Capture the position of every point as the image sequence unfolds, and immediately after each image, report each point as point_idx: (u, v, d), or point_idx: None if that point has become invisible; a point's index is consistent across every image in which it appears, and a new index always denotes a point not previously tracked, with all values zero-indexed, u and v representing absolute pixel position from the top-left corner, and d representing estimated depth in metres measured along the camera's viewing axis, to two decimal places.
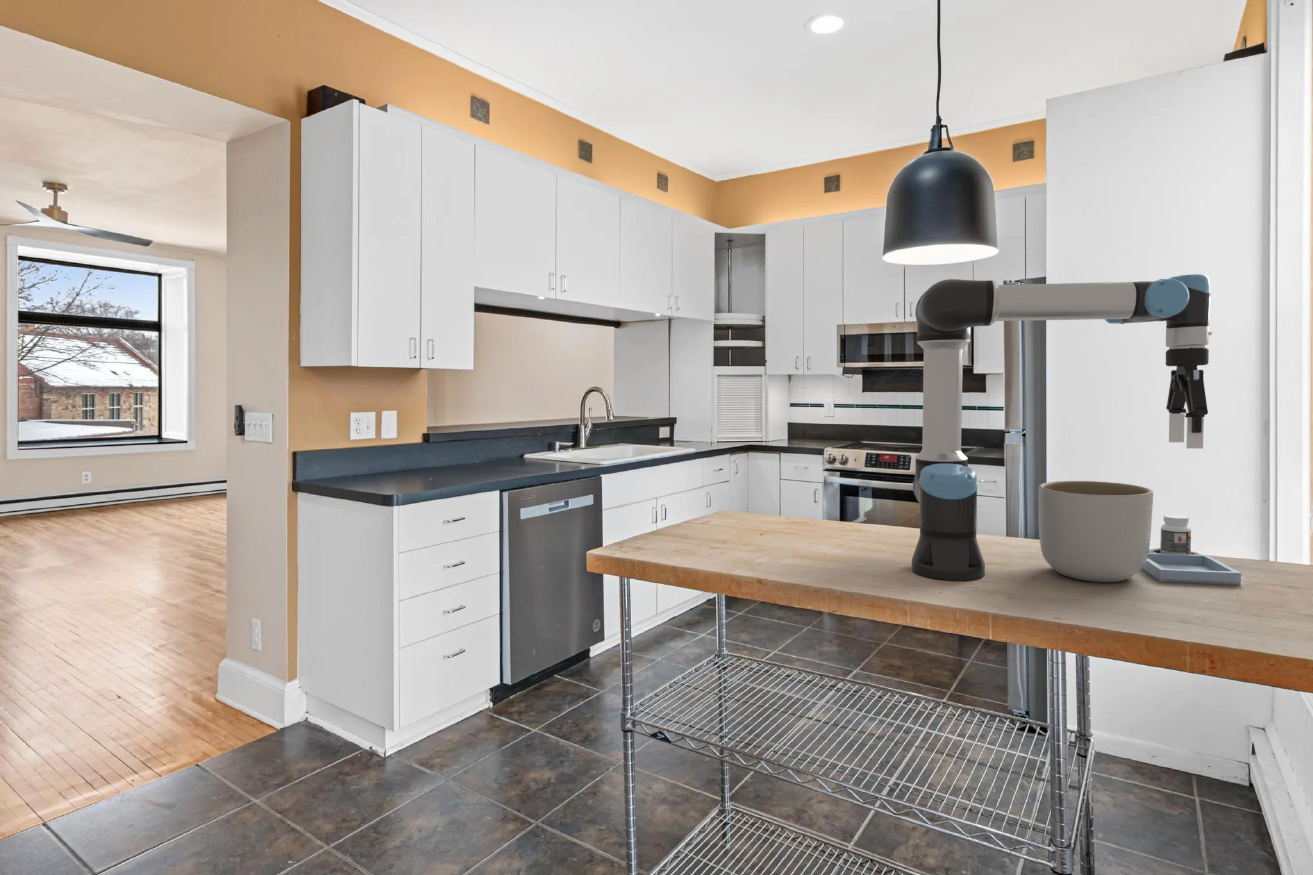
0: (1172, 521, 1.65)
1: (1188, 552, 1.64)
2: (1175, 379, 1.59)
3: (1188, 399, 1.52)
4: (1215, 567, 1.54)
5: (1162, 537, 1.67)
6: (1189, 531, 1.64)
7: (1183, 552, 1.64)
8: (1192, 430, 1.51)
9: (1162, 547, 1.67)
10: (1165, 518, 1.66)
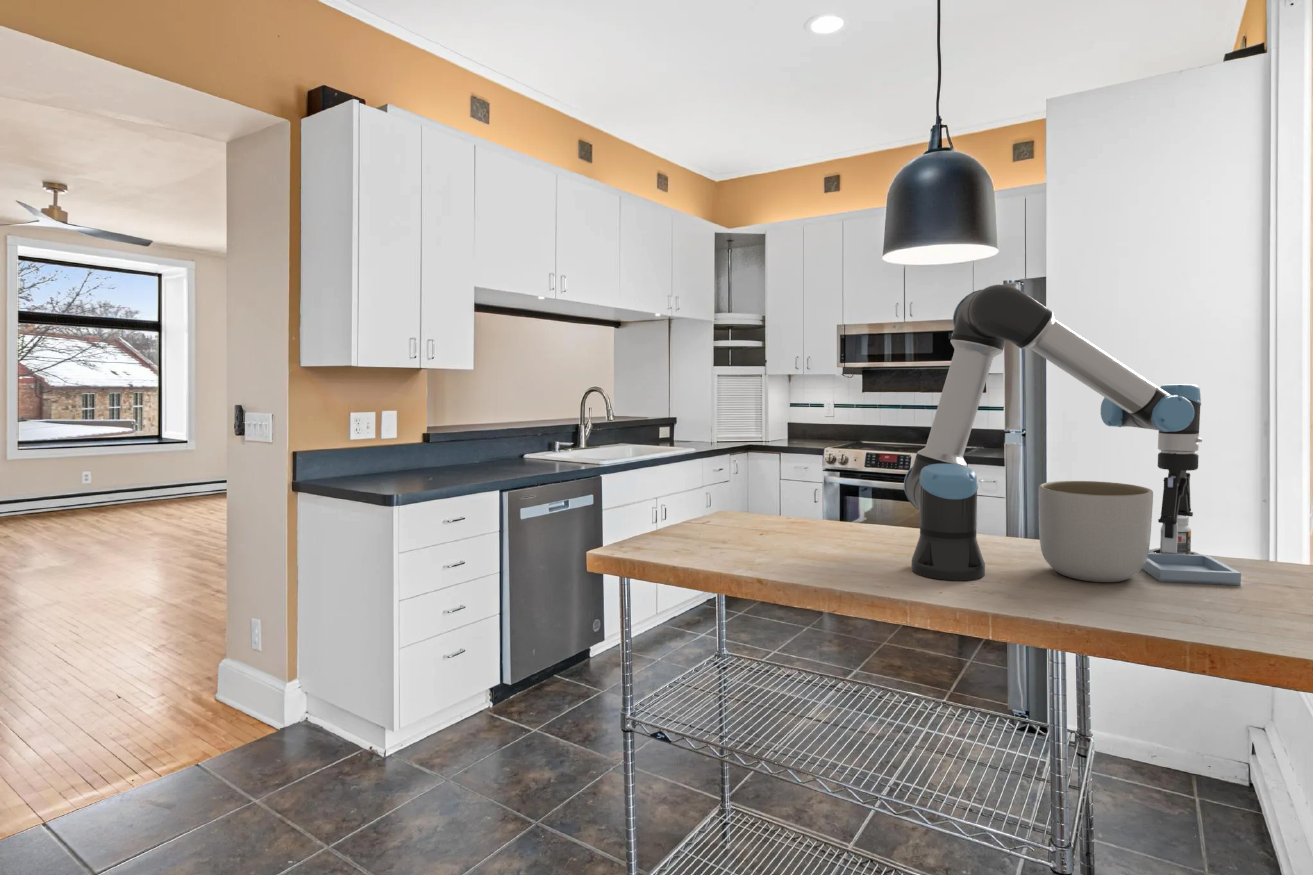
0: None
1: (1188, 552, 1.64)
2: None
3: None
4: (1215, 567, 1.54)
5: None
6: (1189, 531, 1.64)
7: (1183, 552, 1.64)
8: (1165, 535, 1.62)
9: None
10: None
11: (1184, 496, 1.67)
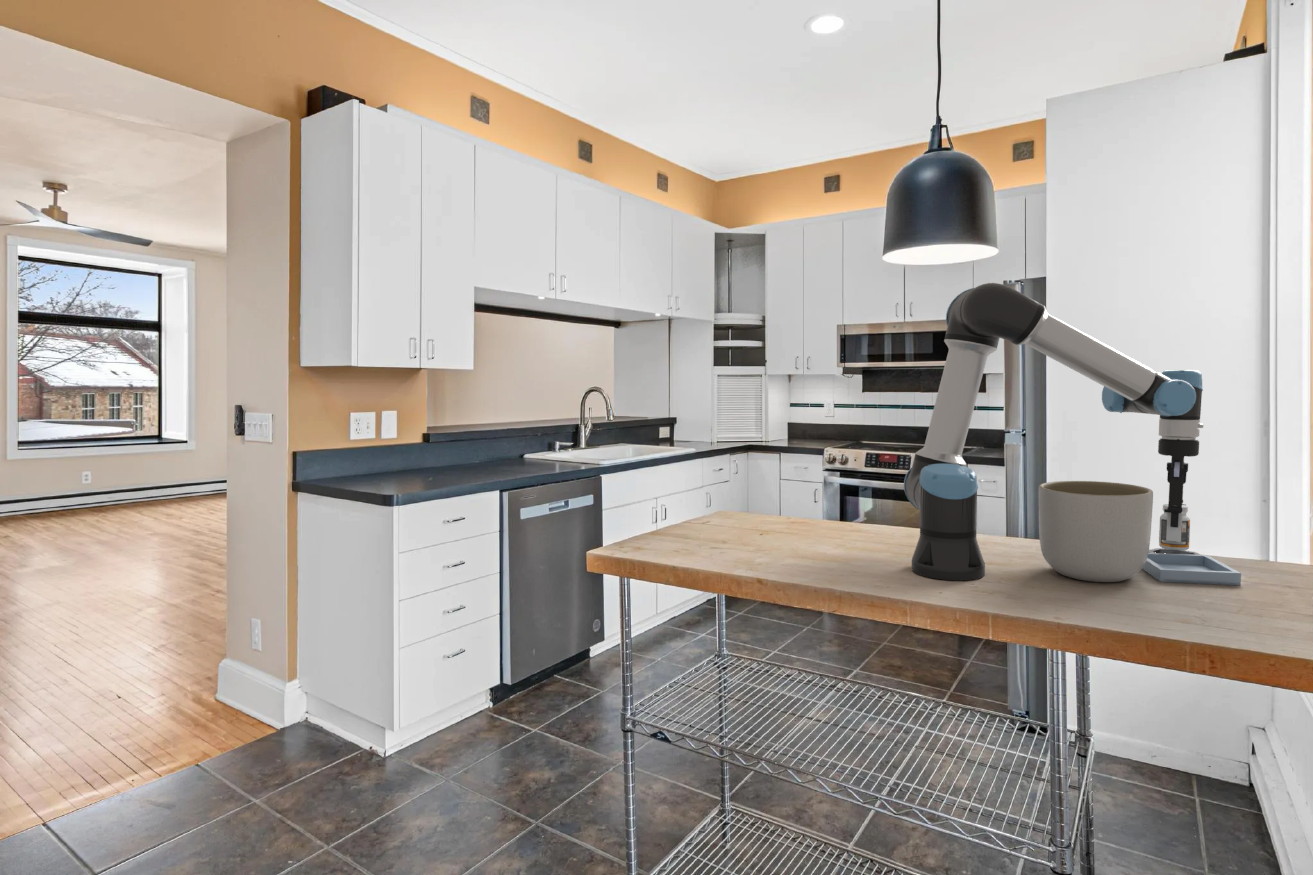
0: None
1: (1188, 541, 1.64)
2: None
3: None
4: (1215, 567, 1.54)
5: (1162, 526, 1.66)
6: (1189, 520, 1.64)
7: (1183, 541, 1.63)
8: (1170, 524, 1.63)
9: (1162, 536, 1.66)
10: (1165, 507, 1.66)
11: None
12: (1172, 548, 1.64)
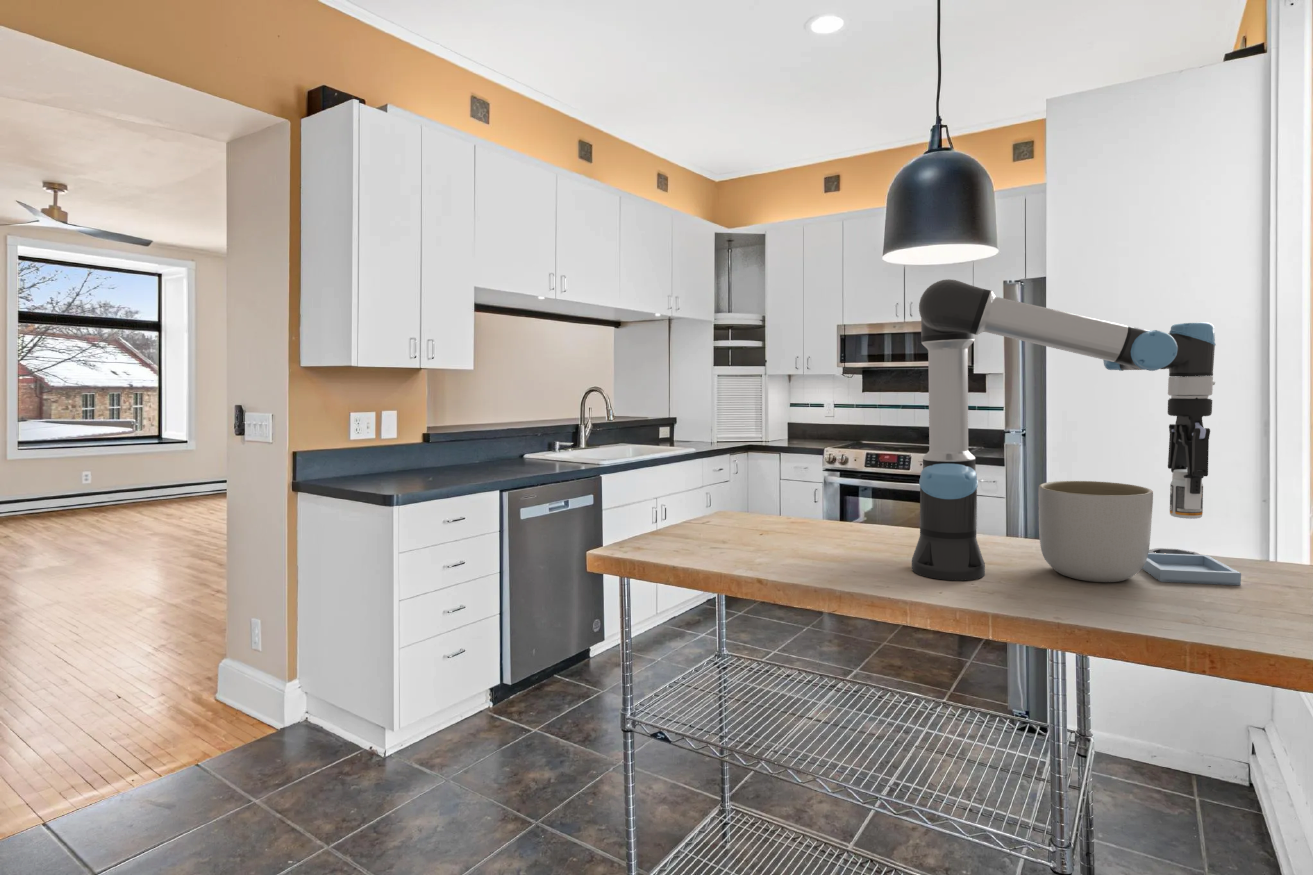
0: None
1: (1202, 508, 1.52)
2: (1177, 428, 1.54)
3: (1189, 457, 1.50)
4: (1215, 567, 1.54)
5: (1177, 494, 1.52)
6: (1202, 485, 1.52)
7: None
8: (1191, 491, 1.50)
9: (1177, 505, 1.53)
10: (1180, 473, 1.52)
11: None
12: (1190, 517, 1.51)
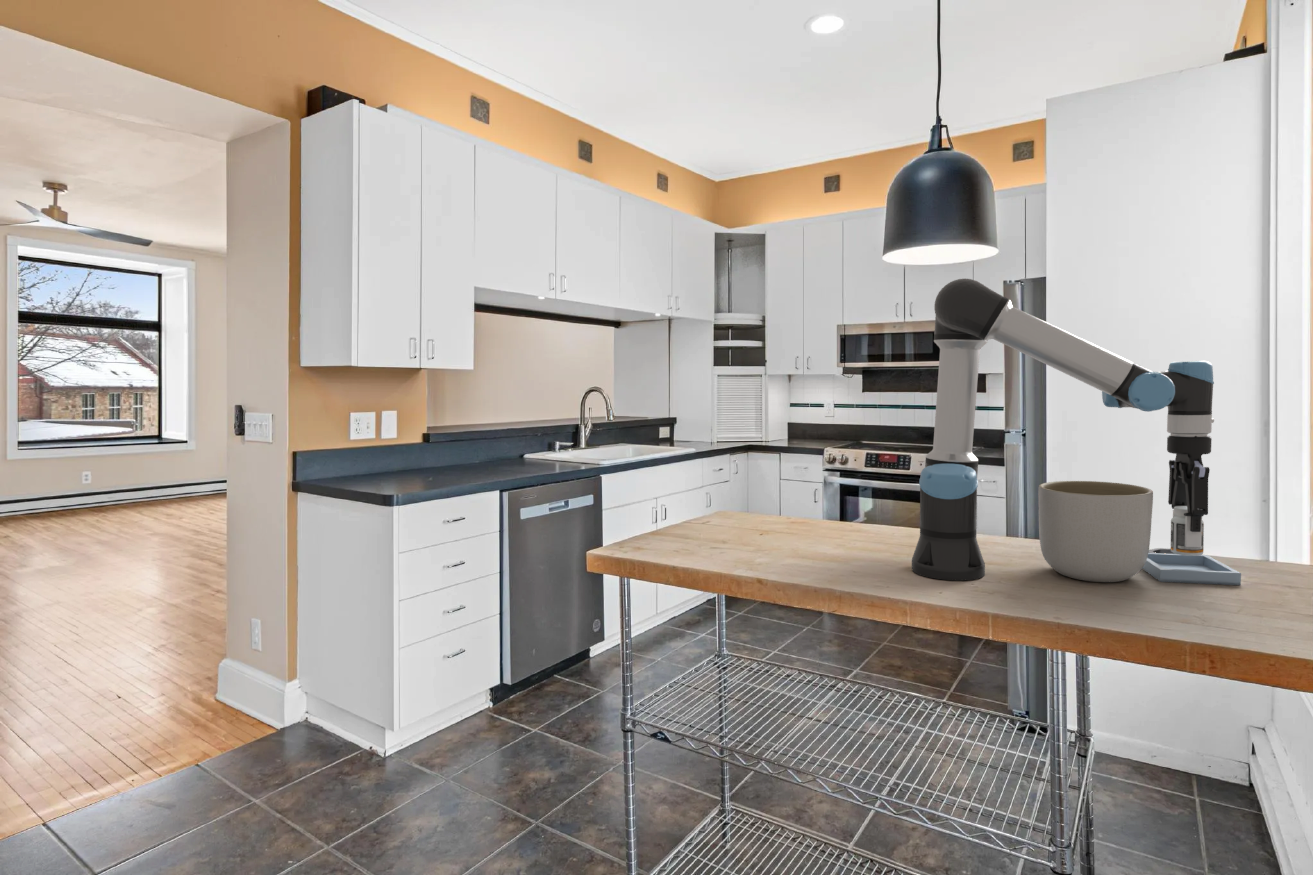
0: None
1: None
2: (1177, 465, 1.54)
3: (1189, 495, 1.50)
4: (1215, 567, 1.54)
5: (1177, 531, 1.53)
6: None
7: (1201, 546, 1.51)
8: (1191, 529, 1.50)
9: (1178, 542, 1.53)
10: (1180, 510, 1.52)
11: None
12: (1191, 554, 1.51)
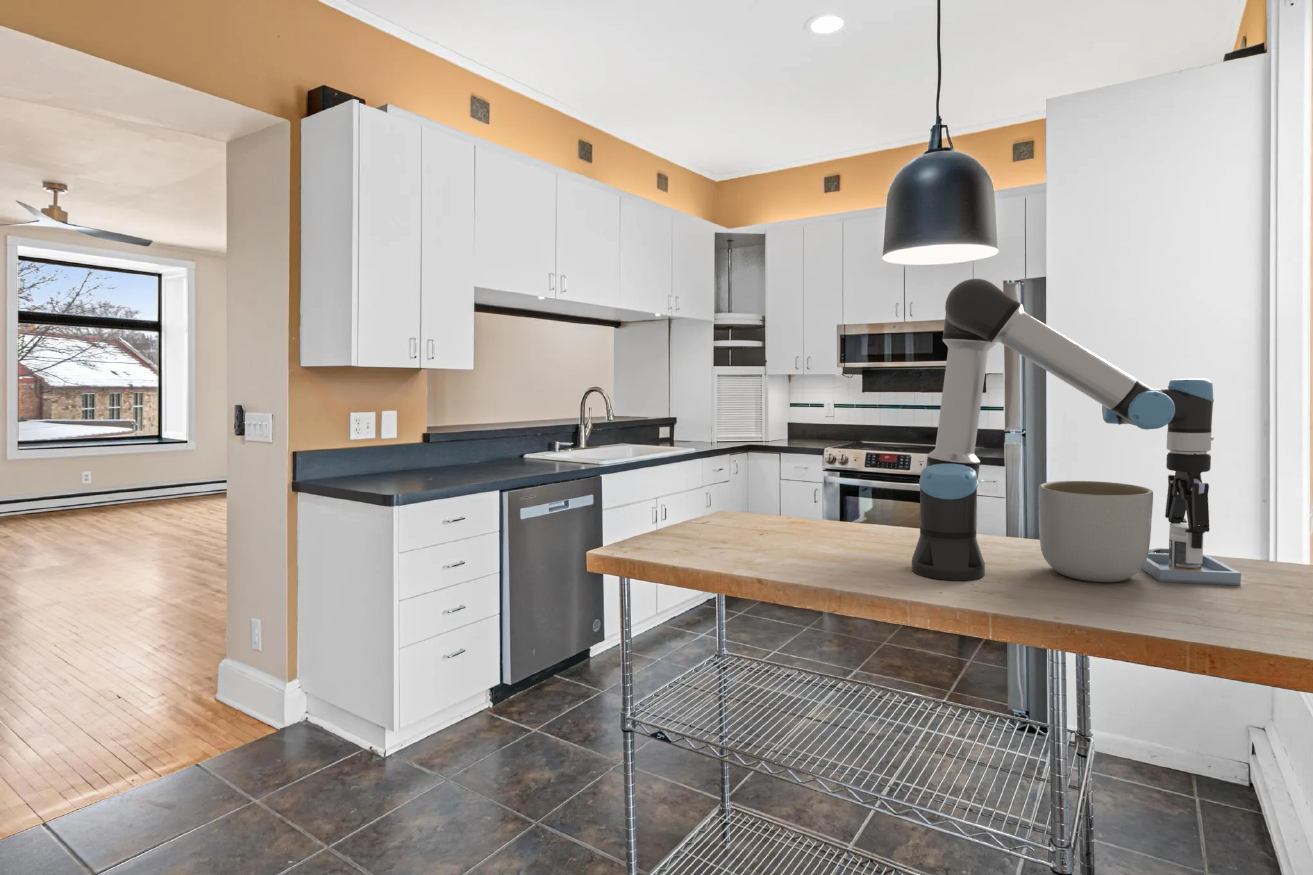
0: None
1: None
2: (1176, 482, 1.54)
3: (1189, 512, 1.49)
4: (1215, 567, 1.54)
5: (1176, 549, 1.53)
6: None
7: (1199, 564, 1.52)
8: (1192, 545, 1.49)
9: (1176, 560, 1.53)
10: (1178, 528, 1.53)
11: None
12: None
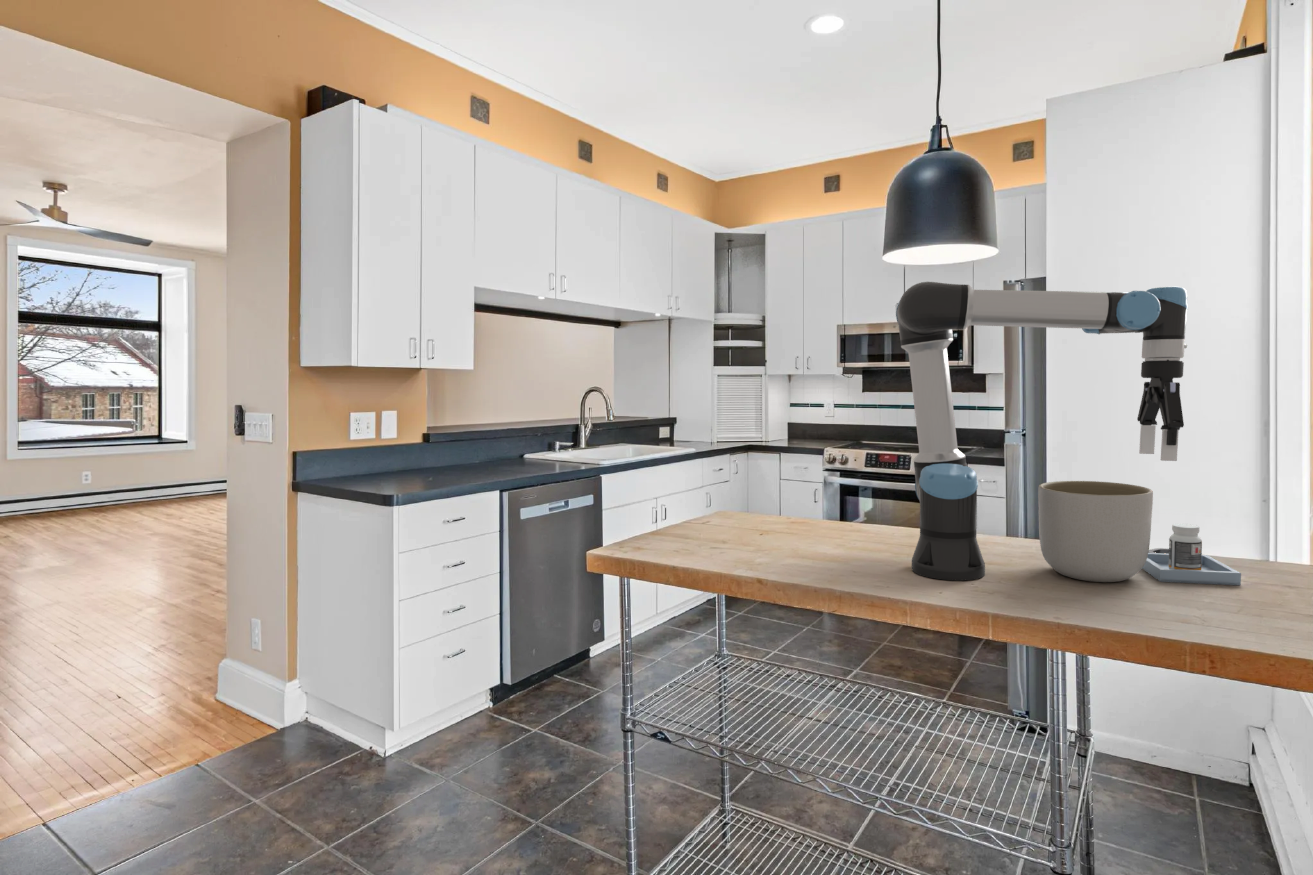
0: (1188, 531, 1.52)
1: None
2: (1149, 391, 1.59)
3: (1164, 411, 1.53)
4: (1215, 567, 1.54)
5: (1176, 549, 1.53)
6: (1201, 540, 1.53)
7: (1199, 564, 1.52)
8: (1167, 442, 1.51)
9: (1176, 560, 1.53)
10: (1178, 528, 1.53)
11: (1158, 406, 1.61)
12: None
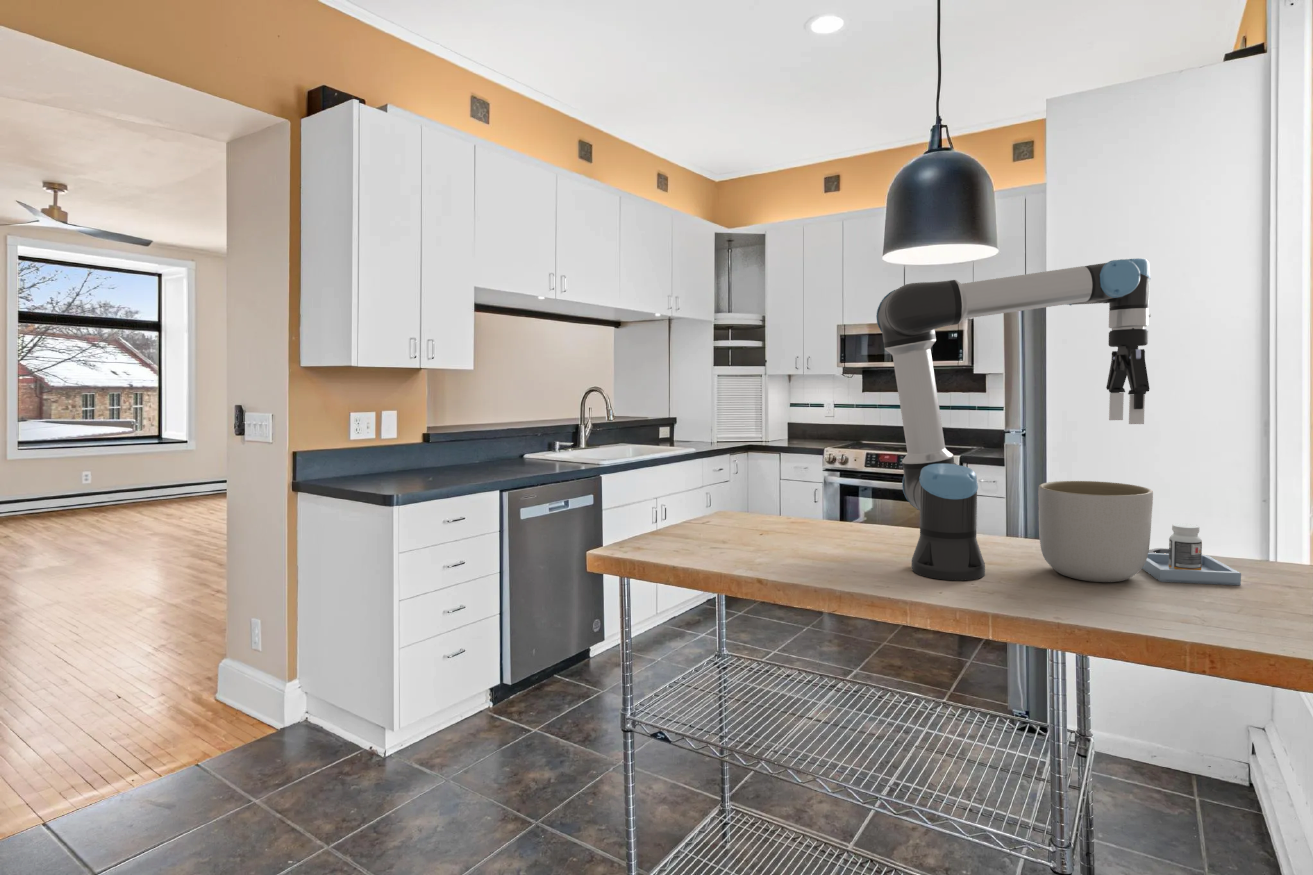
0: (1188, 531, 1.52)
1: None
2: (1117, 359, 1.66)
3: (1130, 377, 1.60)
4: (1215, 567, 1.54)
5: (1176, 549, 1.53)
6: (1201, 540, 1.53)
7: (1199, 564, 1.52)
8: (1134, 406, 1.59)
9: (1176, 560, 1.53)
10: (1178, 528, 1.53)
11: (1126, 373, 1.68)
12: None
